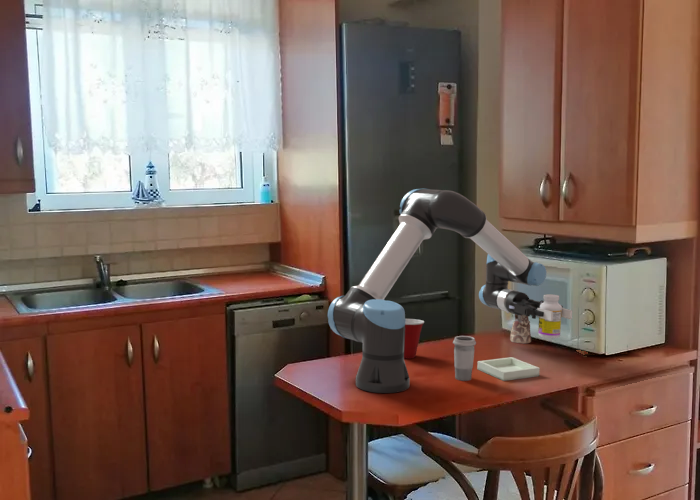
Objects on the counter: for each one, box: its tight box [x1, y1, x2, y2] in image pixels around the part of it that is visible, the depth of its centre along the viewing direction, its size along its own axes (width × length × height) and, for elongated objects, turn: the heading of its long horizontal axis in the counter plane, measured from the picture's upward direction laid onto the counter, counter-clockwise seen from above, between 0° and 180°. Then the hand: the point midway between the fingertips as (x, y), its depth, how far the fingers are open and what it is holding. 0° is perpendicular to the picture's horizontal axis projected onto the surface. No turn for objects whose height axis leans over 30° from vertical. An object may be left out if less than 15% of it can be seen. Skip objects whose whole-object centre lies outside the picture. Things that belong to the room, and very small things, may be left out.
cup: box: [452, 335, 477, 382], centre depth 218 cm, size 7×7×12 cm
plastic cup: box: [404, 318, 425, 359], centre depth 242 cm, size 11×11×12 cm
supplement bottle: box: [537, 293, 563, 339], centre depth 232 cm, size 7×7×13 cm
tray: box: [476, 356, 540, 382], centre depth 226 cm, size 13×13×2 cm
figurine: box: [509, 314, 532, 344], centre depth 265 cm, size 7×7×12 cm
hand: (561, 315), depth 227 cm, fingers closed on supplement bottle, 7 cm apart
